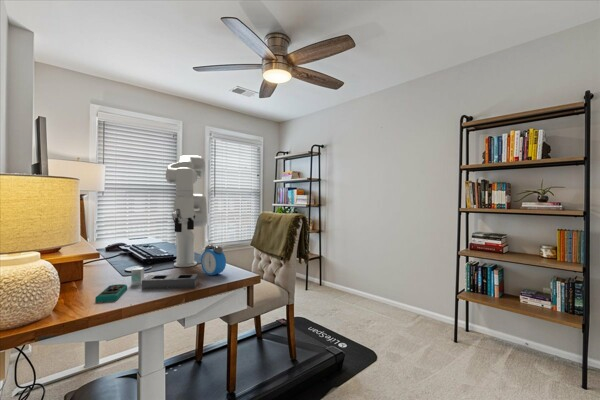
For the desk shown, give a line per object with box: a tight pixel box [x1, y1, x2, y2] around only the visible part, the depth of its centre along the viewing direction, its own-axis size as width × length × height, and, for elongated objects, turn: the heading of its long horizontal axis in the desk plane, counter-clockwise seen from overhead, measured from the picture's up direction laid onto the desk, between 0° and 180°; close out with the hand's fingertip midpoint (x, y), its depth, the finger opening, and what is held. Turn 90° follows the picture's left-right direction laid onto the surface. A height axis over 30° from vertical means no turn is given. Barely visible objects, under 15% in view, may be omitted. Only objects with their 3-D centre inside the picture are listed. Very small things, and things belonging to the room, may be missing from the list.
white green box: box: [130, 266, 145, 286], centre depth 133 cm, size 4×4×7 cm
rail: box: [141, 273, 199, 290], centre depth 130 cm, size 8×22×4 cm, turn 98°
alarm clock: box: [200, 244, 227, 277], centre depth 149 cm, size 13×6×15 cm, turn 56°
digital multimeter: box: [95, 283, 128, 303], centre depth 117 cm, size 7×15×3 cm, turn 16°
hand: (184, 230), depth 135 cm, fingers open, 9 cm apart
